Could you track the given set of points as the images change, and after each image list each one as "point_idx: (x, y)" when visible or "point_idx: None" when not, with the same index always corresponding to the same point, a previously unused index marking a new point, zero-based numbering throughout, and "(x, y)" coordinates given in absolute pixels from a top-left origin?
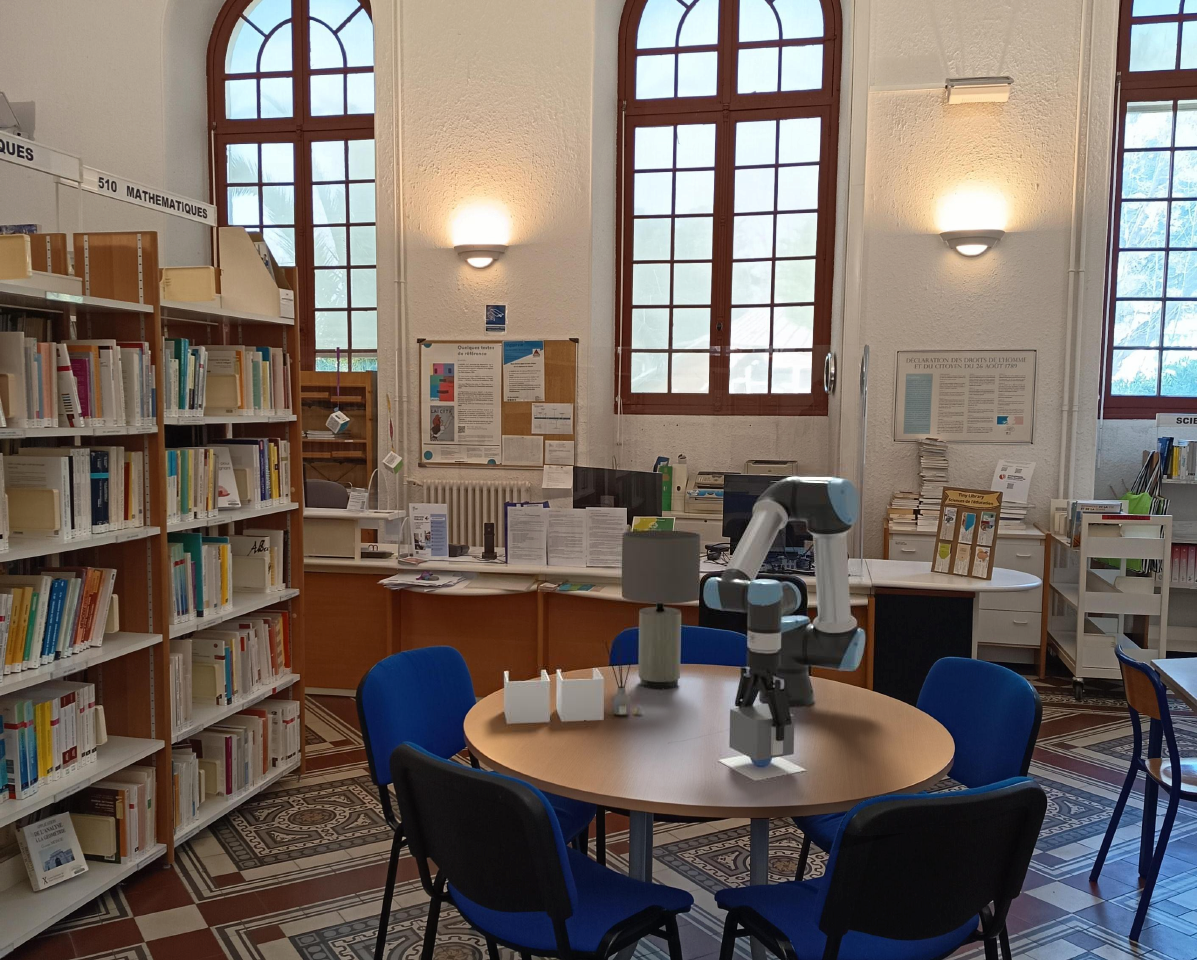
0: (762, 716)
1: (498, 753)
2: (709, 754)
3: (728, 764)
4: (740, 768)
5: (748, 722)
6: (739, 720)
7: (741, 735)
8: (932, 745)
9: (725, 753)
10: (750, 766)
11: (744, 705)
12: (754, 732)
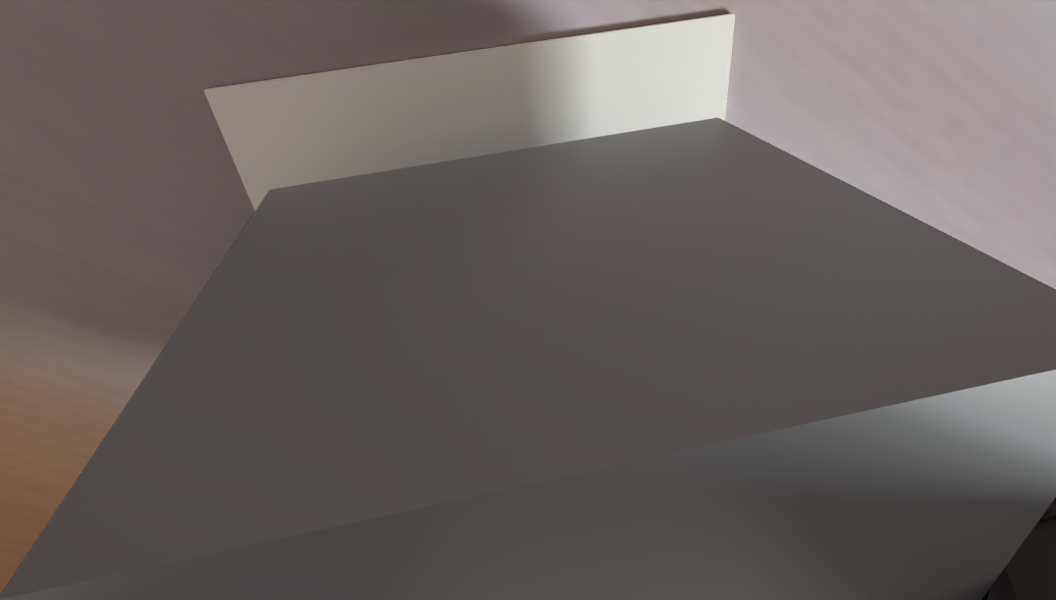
0: None
1: None
2: (875, 21)
3: (610, 50)
4: (495, 103)
5: (422, 403)
6: (708, 316)
7: (569, 218)
8: None
9: (815, 154)
10: None
11: (1018, 595)
12: (240, 349)
